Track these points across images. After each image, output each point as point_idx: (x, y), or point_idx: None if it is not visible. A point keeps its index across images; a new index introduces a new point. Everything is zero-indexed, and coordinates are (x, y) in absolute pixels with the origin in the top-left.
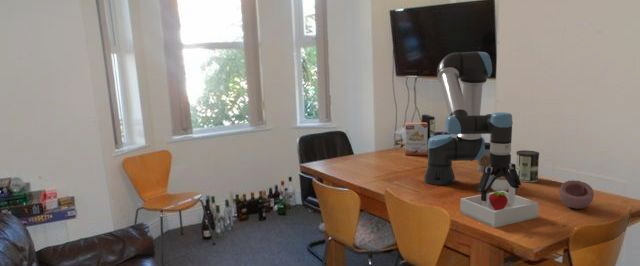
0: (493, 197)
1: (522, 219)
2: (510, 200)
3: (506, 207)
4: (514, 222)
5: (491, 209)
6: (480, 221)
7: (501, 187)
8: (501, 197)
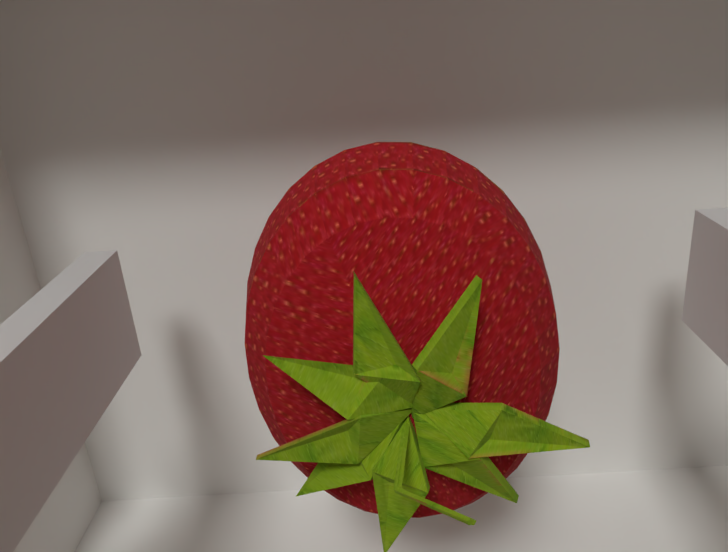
0: (260, 385)
1: None
2: (715, 276)
3: (692, 108)
4: None
5: (409, 89)
6: None
7: None
8: (368, 498)
